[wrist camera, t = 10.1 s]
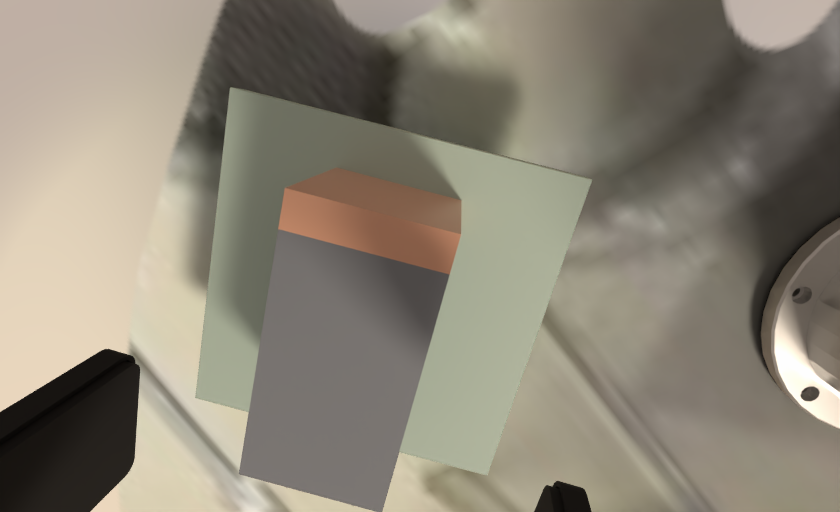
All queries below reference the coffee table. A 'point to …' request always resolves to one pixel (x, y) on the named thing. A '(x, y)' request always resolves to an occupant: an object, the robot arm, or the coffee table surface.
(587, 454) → the coffee table surface
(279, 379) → the block
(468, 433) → the stand
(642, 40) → the coffee table surface
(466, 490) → the coffee table surface
